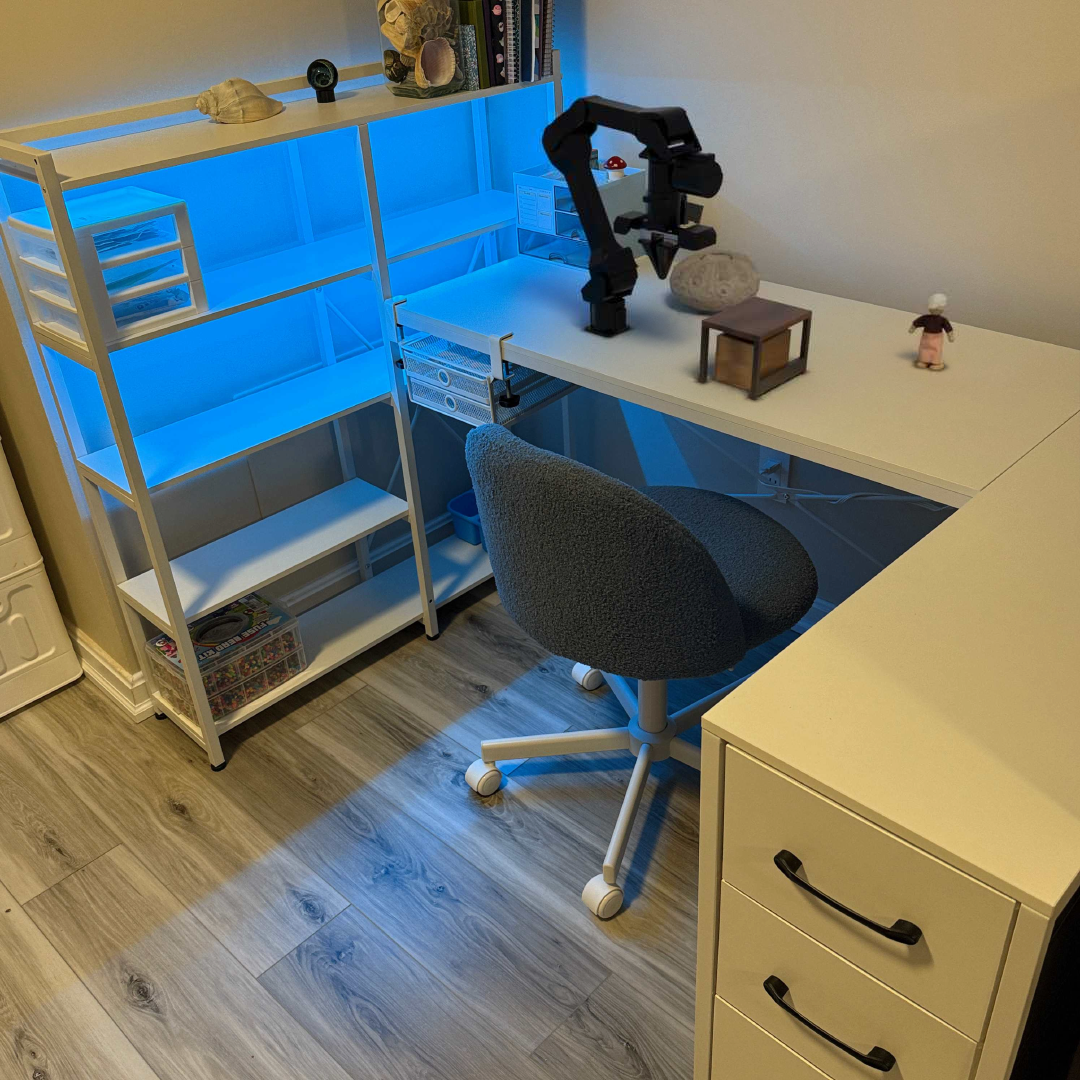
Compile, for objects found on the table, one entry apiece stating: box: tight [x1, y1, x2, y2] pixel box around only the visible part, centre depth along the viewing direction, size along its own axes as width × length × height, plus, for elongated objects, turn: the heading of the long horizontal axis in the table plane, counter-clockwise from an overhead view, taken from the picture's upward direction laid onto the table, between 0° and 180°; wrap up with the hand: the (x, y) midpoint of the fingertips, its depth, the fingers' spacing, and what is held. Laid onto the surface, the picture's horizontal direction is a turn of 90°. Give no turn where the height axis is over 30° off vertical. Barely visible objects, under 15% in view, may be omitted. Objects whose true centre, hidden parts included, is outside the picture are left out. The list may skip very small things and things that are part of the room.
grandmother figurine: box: [907, 293, 956, 371], centre depth 177 cm, size 8×4×13 cm, turn 65°
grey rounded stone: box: [669, 249, 761, 313], centre depth 207 cm, size 18×18×10 cm
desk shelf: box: [698, 295, 813, 401], centre depth 176 cm, size 12×15×11 cm
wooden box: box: [714, 328, 792, 392], centre depth 177 cm, size 8×10×8 cm
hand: (662, 279), depth 184 cm, fingers closed
